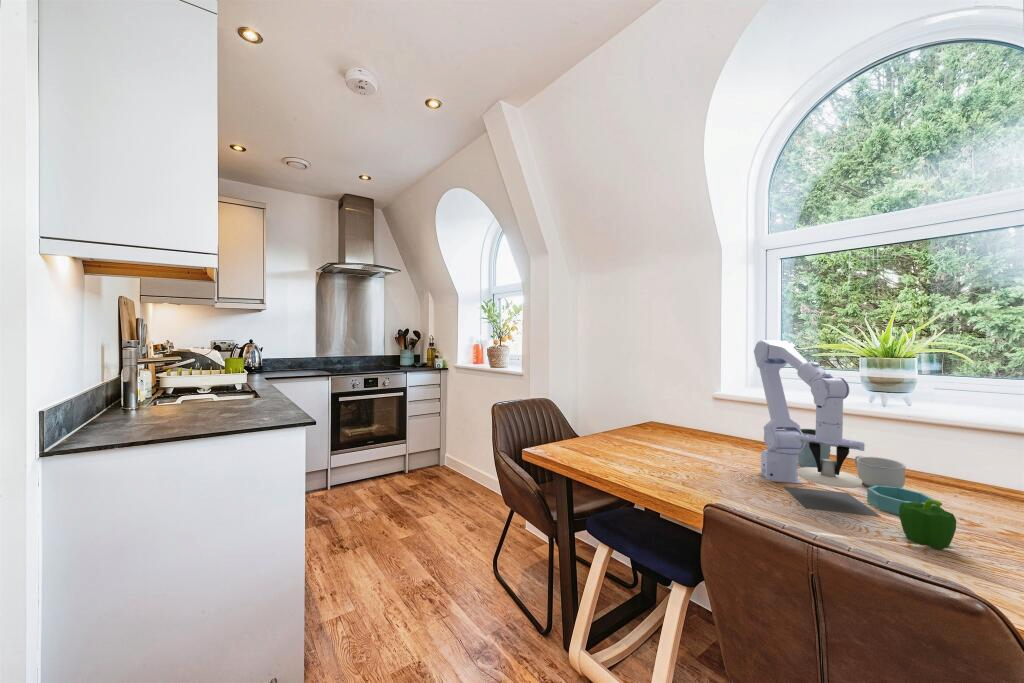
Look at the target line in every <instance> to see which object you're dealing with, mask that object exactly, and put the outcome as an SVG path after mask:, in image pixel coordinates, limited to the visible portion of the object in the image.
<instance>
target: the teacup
mask: <svg viewBox="0 0 1024 683" xmlns="http://www.w3.org/2000/svg"><path fill="white" fill-rule="evenodd" d="M854 464H855V466H856V468H857V477H858V478H860V479H861V480H862V484H864V485H866V486H867V487H868V488H869V487H872V486H875V485H879V486H890V487H899V488H903V487H904V486H905V483H906V468H907V467H906V466H907V465H906V464H905V463H903V462H901V461H898V460H895V459H890V458H886V457H885V458H884V457H877V456H876V457H875V456H863V455H857V456H855V457H854Z"/></svg>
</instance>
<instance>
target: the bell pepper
mask: <svg viewBox="0 0 1024 683" xmlns="http://www.w3.org/2000/svg"><path fill="white" fill-rule="evenodd" d="M933 499H934V498H933ZM933 499H932V500H927V501H926V502H925V504H923V503H921V502H918V501H915V502H910V503H901V505H900V506H899V515H898V516H899V520H900V524H901V527H902V531H903V534H904V535H905V537H906V538H907V539H908V540H910V541H912V542H914V543H916V544H920V545H922V546H923V545H924V546H925V545H926V546H928V547H929V548H934V549H937V550H939V549H940V550H944V549H946V548H948V547H949V546H950V545H951V543H952V541H953V538H954V536H955V533H956V530H957V519H956V517H955V515H954V514H953V513H952V512H949V511H947V510H945V509H944V508H942V507H941V506H943V503H942V502H941V501H939V500H938V499H937V500H936V499H934V500H933ZM932 504H936V505H937V506H936V505H932Z"/></svg>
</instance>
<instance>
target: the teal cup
mask: <svg viewBox="0 0 1024 683" xmlns="http://www.w3.org/2000/svg"><path fill="white" fill-rule="evenodd" d="M800 429H801V431H802V433H803V435H814V436H816V428H815V429H814V428H800ZM820 443H821V442H820ZM831 448H832V446H826V445H820V449H821V452H820V463H821V459H830V457H831ZM798 466H801V467H803V466H804V467H817V464H816V461H815V458H814V456H813V453H812V451H811V450H810V447H809V443H805V446H804V448H803V449H802V450H801V453H798Z"/></svg>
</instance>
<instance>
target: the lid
mask: <svg viewBox="0 0 1024 683" xmlns="http://www.w3.org/2000/svg"><path fill="white" fill-rule="evenodd" d="M796 474H797V475H798V477H799V478H801V479H804V480H805V481H809V482H812V483H814V484H818V485H819V484H820V485H823V486H828V487H835V488H844V489H854V488H860V487H862V486H863V482H862V480H861V479H860V478H859V477H858V476H855V475H853V474H851V473H848V472H844V471H841V470H840V472H839V475H836V460H833V459H830V458H829V459H821V472H818V469H817V467H803V466H801V467H798V469H797V470H796Z"/></svg>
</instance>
